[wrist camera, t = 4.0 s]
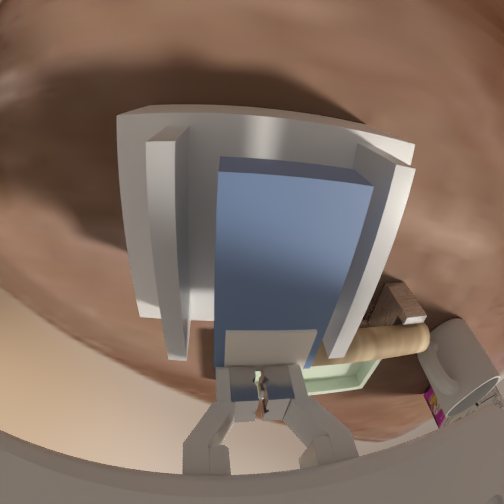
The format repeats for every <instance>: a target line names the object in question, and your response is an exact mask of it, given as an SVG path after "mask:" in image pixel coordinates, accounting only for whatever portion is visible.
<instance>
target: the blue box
mask: <svg viewBox="0 0 504 504" xmlns="http://www.w3.org/2000/svg"><path fill="white" fill-rule="evenodd" d="M373 188H374V186H373V185H372V184H371V183H370V182H368V181H367V180H366V179H365V178H364V177H363V176H361V175H360V174H359V173H358V172H357V171H356V170H354V169H348V168H342V167H334V166H327V165H319V164H311V163H302V162H293V161H282V160H271V159H259V158H244V157H225V156H220V161H219V171H218V189H217V212H216V239H215V279H214V371H216V367H254V368H255V371H261V367H262V366H275V365H293V364H299V365H300V367H301V369H309V368H310V367H311V365H312V363H313V361H314V358H315V356H316V354H317V351H318V349H319V347H320V344H321V342H322V339H323V337H324V335H325V332H326V330H327V327H328V325H329V322H330V320H331V317H332V315H333V312H334V309H335V307H336V304H337V301H338V299H339V296H340V293H341V291H342V288H343V285H344V282H345V279H346V277H347V274H348V271H349V268H350V265H351V262H352V259H353V256H354V253H355V250H356V247H357V244H358V240H359V237H360V234H361V231H362V227H363V224H364V221H365V217H366V214H367V210H368V207H369V203H370V200H371V196H372V192H373Z"/></svg>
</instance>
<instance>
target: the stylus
mask: <svg viewBox="0 0 504 504" xmlns="http://www.w3.org/2000/svg"><path fill="white" fill-rule="evenodd" d="M429 342H430V332H429V329H428V327H427V325H426V324H425V323H414V324H406V325H403V324H399V325H389V326H379V327H367V328H358V329H357V332H356V334H355V336H354V338H353V340H352V342H351V344H350V346H349V348H348V350H347V352H346V354H345V356H344V357H341V358H330V359H328V356H327V353H326V349H325V346H324V343H323V340H322V342H321V344H320V347H319V349H318V351H317V354H316V356H315V358H314V361H313V363H312V365H311V367H313V366H325V365H336V364H346V363H355V362H363V361H370V360H378V359H384V358H391V357H397V356H403V355H409V354H414V353H419V352H423V351H425V350H426V349H427V347H428V345H429Z"/></svg>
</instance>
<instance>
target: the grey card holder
mask: <svg viewBox="0 0 504 504" xmlns="http://www.w3.org/2000/svg"><path fill="white" fill-rule="evenodd" d="M414 147H415V144H413V143H411V142H408V141H406V140H404V139H402V138H399V137H397V136H394V135H392V134H390V133H387V132H385V131H382V130H380V129H377V128H374V127H372V126H369V125H366V124H362V123H357V122H353V121H348V120H343V119H337V118H332V117H327V116H321V115H315V114H308V113H301V112H294V111H286V110H278V109H269V108H258V107H246V106H230V105H204V104H168V105H149V106H145V107H142V108H138V109H135V110H132V111H129V112H125V113H122V114H119V115H117V153H118V171H119V184H120V195H121V205H122V214H123V222H124V230H125V238H126V244H127V251H128V257H129V263H130V269H131V275H132V280H133V285H134V290H135V295H136V300H137V305H138V310H139V314H140V317H148V318H161V320H162V326H163V332H164V337H165V342H166V348H167V353H168V358H169V360H184V361H187V353H188V342H189V332H190V322H191V320H203V321H214V279H215V239H216V212H217V189H218V171H219V161H220V156H225V157H244V158H259V159H271V160H282V161H293V162H302V163H311V164H319V165H327V166H334V167H342V168H348V169H354V170H356V171H357V172H358V173H359V174H360V175H361V176H363V177H364V178H365V179H366V180H367V181H368V182H370V183H371V184H372V185H373V186H374V188H373V192H372V196H371V200H370V203H369V207H368V210H367V214H366V217H365V221H364V224H363V227H362V231H361V234H360V237H359V240H358V244H357V247H356V250H355V253H354V256H353V259H352V262H351V265H350V268H349V271H348V274H347V277H346V279H345V282H344V285H343V288H342V291H341V293H340V296H339V299H338V301H337V304H336V307H335V309H334V312H333V315H332V317H331V320H330V322H329V325H328V327H327V330H326V332H325V335H324V337H323V339H322V340H323V343H324V346H325V349H326V353H327V356H328V359H330V358H341V357H344V356H345V354H346V352H347V350H348V348H349V346H350V344H351V342H352V340H353V338H354V336H355V334H356V332H357V329H358V327H359V325H360V323H361V321H362V319H363V317H364V314H365V312H366V310H367V308H368V305H369V303H370V301H371V298H372V296H373V294H374V291H375V289H376V287H377V284H378V282H379V279H380V277H381V274H382V272H383V269H384V266H385V264H386V261H387V259H388V256H389V253H390V250H391V248H392V245H393V242H394V239H395V236H396V233H397V230H398V227H399V224H400V221H401V218H402V215H403V212H404V209H405V205H406V202H407V199H408V195H409V192H410V188H411V185H412V181H413V177H414V173H415V168H413V167H412V166H410V164H411V160H412V156H413V152H414Z"/></svg>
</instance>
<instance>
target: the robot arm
mask: <svg viewBox="0 0 504 504" xmlns="http://www.w3.org/2000/svg"><path fill="white" fill-rule="evenodd" d="M260 372H261V376H260V377H259V382H258V389H257V385H256V384H255V377H256V374H255V368H254V367H216V402H213V403H212V405H211V406H210V407H209V409H208V410H207V412H206V413H205V414H204V416H203V417H202V418H201V420H200V421H199V423H198V424H197V425H196V427H195V428H194V430H193V431H192V432H191V433H190V435H189V436H188V438H187V439H186V440H185V441H184V443H183V474H169V473H159V472H150V471H141V470H135V469H128V468H121V467H117V466H111V465H106V464H101V463H97V462H93V461H88V460H84V459H81V458H77V457H73V456H69V455H66V454H63V453H59V452H56V451H53V450H50V449H47V448H44V447H41V446H38V445H36V444H32V443H30V442H28V441H25V440H22V439H20V438H18V437H15V436H13V435H10V434H8V433H6V432H4V431H1V430H0V504H504V410H503V409H501V408H500V407H498V406H496V405H494V404H488V405H486V406H484V407H482V408H480V409H478V410H477V411H475V412H473V413H471V414H469V415H467V416H465V417H463V418H461V419H459V420H457V421H455V422H453V423H451V424H449V425H447V426H444V427H442V428H440V429H438V430H435V431H433V432H431V433H428V434H426V435H423V436H421V437H418V438H416V439H413V440H410V441H408V442H405V443H402V444H399V445H397V446H394V447H390V448H388V449H384V450H381V451H378V452H374V453H371V454H368V455H364V456H360V457H359V456H358V452H357V449H356V446H355V443H354V439H353V436H352V433H351V430H350V429H349V428H347V427H346V426H345V425H344V424H343V423H341V422H340V421H339V420H338V419H337V418H336V417H334V416H333V415H332V414H331V413H330V412H329V411H327V410H326V409H325V408H324V407H323V406H322V405H321V404H319V403H318V402H317V401H316V400H315V399H314V398H313V397H308V393H307V389H306V386H305V382H304V378H303V375H302V371H301V367H300V365H299V364H293V365H275V366H262V367H261V371H260ZM258 391H259V396H258ZM259 398H260V399H261V400H262V403H261V413H262V419H263V421H266V420H283V421H284V422H285V423H286V425H287V426H288V427H289V428H290V429H291V430H292V431H293V432H294V434H295V435H296V436H297V437H298V438H299V439H300V440H301V441H302V442H303V443H304V445H305V446H306V447H307V449H306V450H305V452H304V453H303V454H302V456H301V457H300V458H299V464H300V469H297V470H289V471H281V472H272V473H262V474H248V475H231V472H230V462H229V451H228V448H227V447H226V446H225V445H221V444H222V443H223V441H224V439H225V438H226V436H227V434H228V433H229V431H230V429H231V428H232V426H233V424H234V422H249V421H255V417H256V409H257V408H258V403H259Z"/></svg>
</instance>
